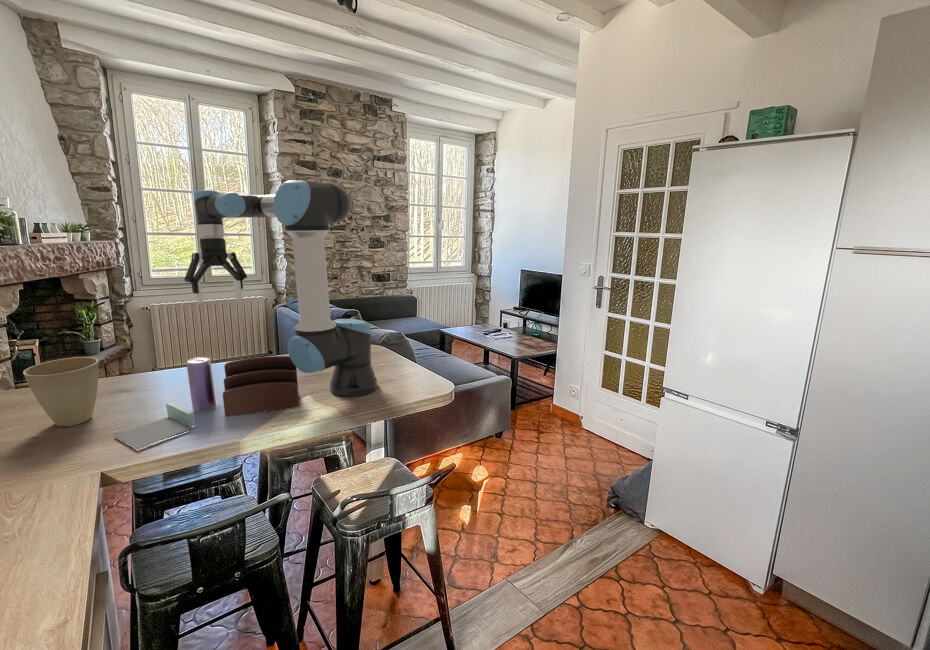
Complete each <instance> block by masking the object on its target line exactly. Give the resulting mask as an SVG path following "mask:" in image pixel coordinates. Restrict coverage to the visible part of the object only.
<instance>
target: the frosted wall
mask: <svg viewBox="0 0 930 650" xmlns="http://www.w3.org/2000/svg"><path fill="white" fill-rule="evenodd" d="M165 405H166V413H167V417H168V418H169V419H171V420H173V421H176V422H179V423H180V422H181V423H180V424H182V423H183V424H182V425H184V424H186V425H188V426H190V427H192V426H194V425H196V420H195V411H192V410H189V409H187V408H184V407H183V406H180V405H178V404H176V403H174V402H171V401H169V402H166V403H165ZM186 425H185V426H186ZM188 426H187V427H188ZM190 427H189V428H190ZM192 428H193V427H192Z"/></svg>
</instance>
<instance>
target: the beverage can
mask: <svg viewBox="0 0 930 650" xmlns="http://www.w3.org/2000/svg"><path fill="white" fill-rule="evenodd" d="M186 369H187V371H186V372H187V377H188V385H189V392H190V399H191V407H192V410H193V412H194V413H195V412H196V413H207V412H209V411H212V410H214V409H215V408H216V406H217V402H216V393H215V384H214V377H213V376H214V375H213V370H212V362H211V357H207V356H199V357H193V358H190V359H188V360H187V361H186Z"/></svg>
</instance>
